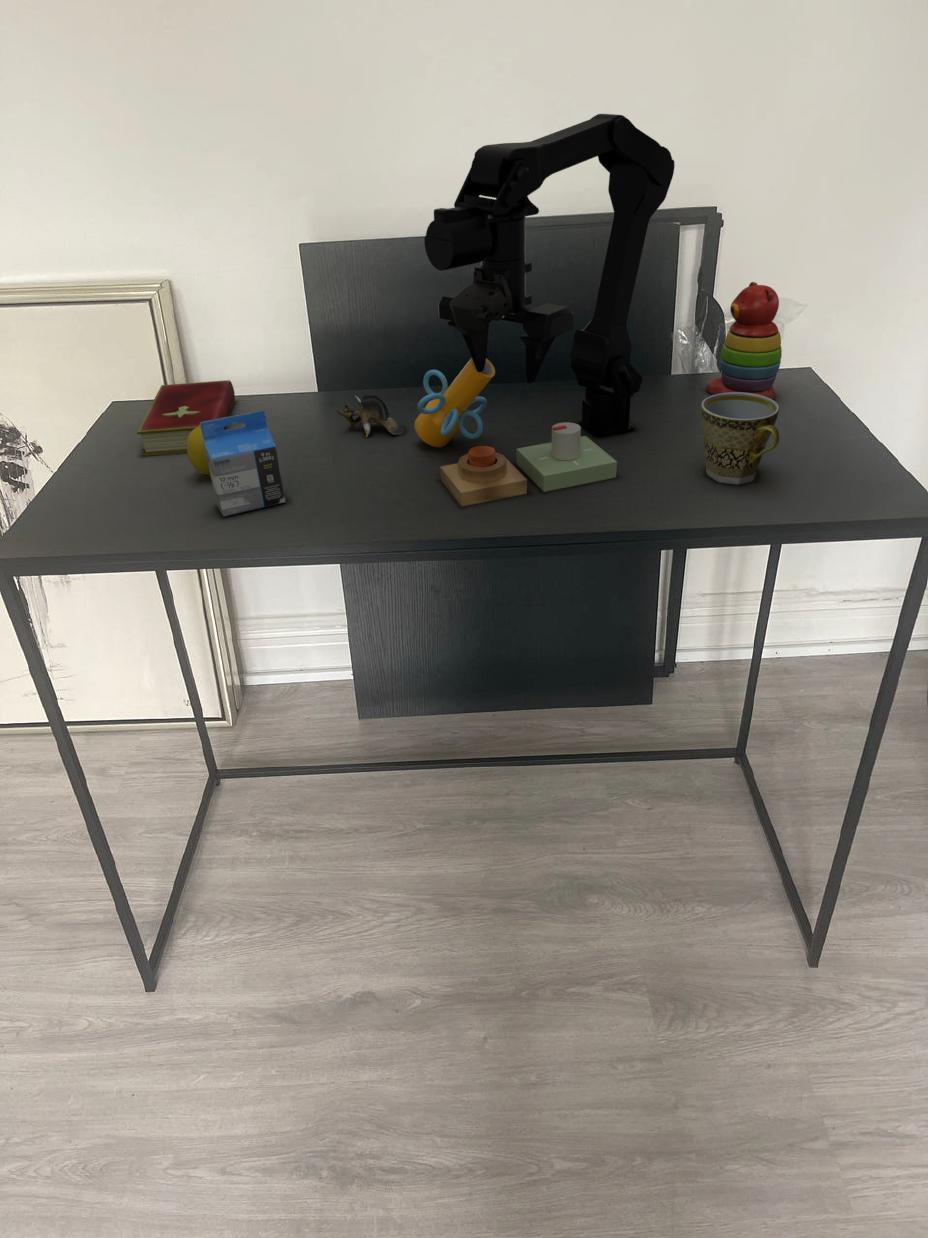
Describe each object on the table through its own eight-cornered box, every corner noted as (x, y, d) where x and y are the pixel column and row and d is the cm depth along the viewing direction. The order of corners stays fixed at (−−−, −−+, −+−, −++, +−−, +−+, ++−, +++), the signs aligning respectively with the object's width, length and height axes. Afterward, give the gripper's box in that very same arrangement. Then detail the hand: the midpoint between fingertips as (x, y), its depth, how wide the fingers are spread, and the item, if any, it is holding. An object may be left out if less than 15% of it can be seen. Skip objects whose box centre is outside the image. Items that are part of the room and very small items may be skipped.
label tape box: (222, 518, 122) (203, 431, 115) (216, 506, 125) (198, 421, 118) (286, 503, 125) (271, 418, 118) (279, 492, 128) (264, 408, 121)
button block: (503, 468, 131) (502, 442, 129) (527, 494, 124) (527, 467, 122) (440, 480, 129) (439, 454, 126) (461, 507, 122) (460, 479, 119)
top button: (489, 455, 126) (489, 443, 125) (499, 465, 123) (499, 453, 122) (465, 460, 125) (465, 448, 124) (474, 470, 122) (473, 458, 121)
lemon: (198, 487, 130) (186, 435, 126) (189, 473, 134) (177, 422, 130) (236, 478, 132) (225, 426, 128) (226, 465, 136) (215, 414, 132)
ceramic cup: (680, 468, 129) (686, 400, 123) (738, 453, 132) (747, 386, 126) (737, 505, 119) (747, 433, 113) (799, 488, 122) (811, 417, 116)
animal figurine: (336, 435, 141) (389, 428, 138) (334, 389, 141) (387, 381, 138) (358, 443, 148) (409, 437, 145) (356, 400, 148) (407, 393, 145)
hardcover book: (236, 401, 159) (231, 378, 156) (221, 449, 141) (216, 424, 139) (166, 406, 158) (161, 383, 156) (143, 455, 141) (136, 430, 138)
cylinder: (455, 475, 137) (510, 411, 126) (395, 443, 133) (446, 375, 122) (464, 422, 144) (517, 357, 133) (407, 390, 140) (456, 321, 130)
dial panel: (585, 451, 135) (585, 434, 133) (616, 477, 127) (617, 460, 125) (516, 464, 132) (516, 447, 130) (543, 492, 124) (543, 474, 123)
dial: (572, 446, 130) (573, 418, 128) (584, 457, 127) (585, 428, 125) (546, 451, 129) (547, 422, 127) (558, 462, 126) (559, 433, 124)
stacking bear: (702, 387, 154) (714, 279, 144) (760, 382, 155) (776, 274, 145) (724, 410, 145) (738, 296, 135) (786, 405, 146) (804, 291, 136)
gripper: (406, 260, 116) (415, 380, 124) (523, 278, 105) (523, 408, 114) (463, 244, 123) (467, 359, 131) (577, 259, 112) (574, 383, 121)
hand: (505, 376), depth 124 cm, fingers open, 8 cm apart
